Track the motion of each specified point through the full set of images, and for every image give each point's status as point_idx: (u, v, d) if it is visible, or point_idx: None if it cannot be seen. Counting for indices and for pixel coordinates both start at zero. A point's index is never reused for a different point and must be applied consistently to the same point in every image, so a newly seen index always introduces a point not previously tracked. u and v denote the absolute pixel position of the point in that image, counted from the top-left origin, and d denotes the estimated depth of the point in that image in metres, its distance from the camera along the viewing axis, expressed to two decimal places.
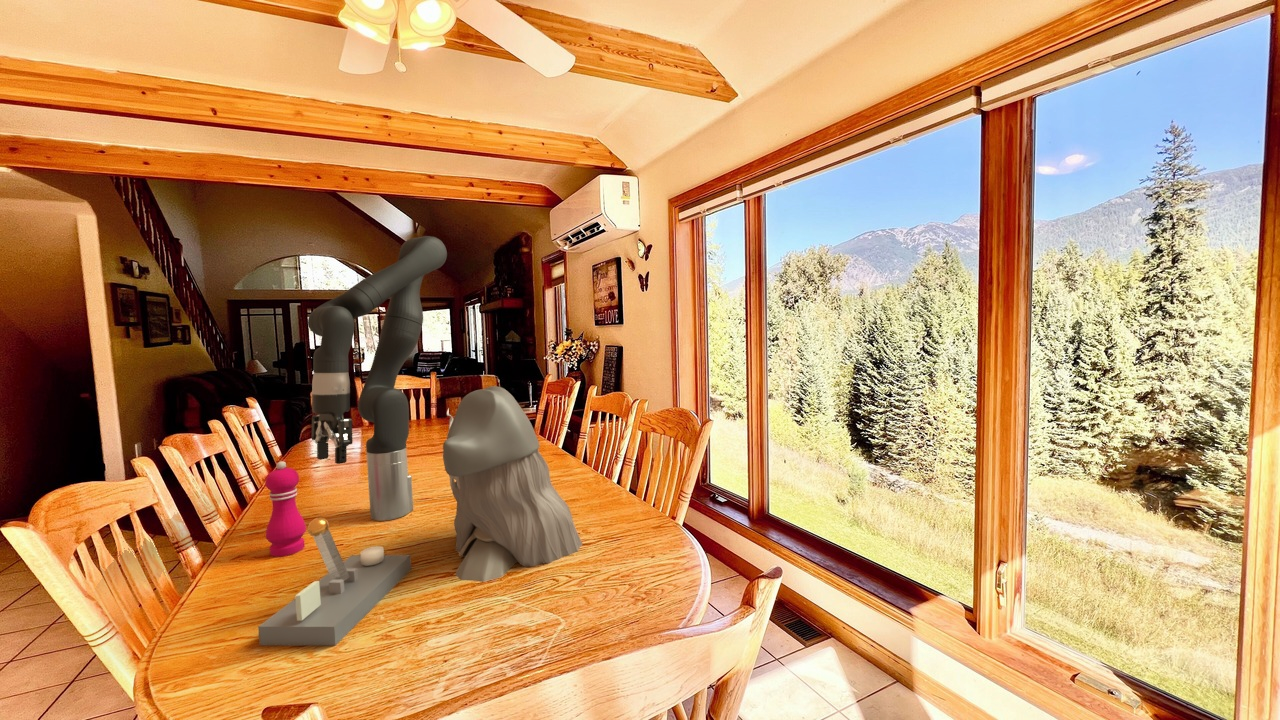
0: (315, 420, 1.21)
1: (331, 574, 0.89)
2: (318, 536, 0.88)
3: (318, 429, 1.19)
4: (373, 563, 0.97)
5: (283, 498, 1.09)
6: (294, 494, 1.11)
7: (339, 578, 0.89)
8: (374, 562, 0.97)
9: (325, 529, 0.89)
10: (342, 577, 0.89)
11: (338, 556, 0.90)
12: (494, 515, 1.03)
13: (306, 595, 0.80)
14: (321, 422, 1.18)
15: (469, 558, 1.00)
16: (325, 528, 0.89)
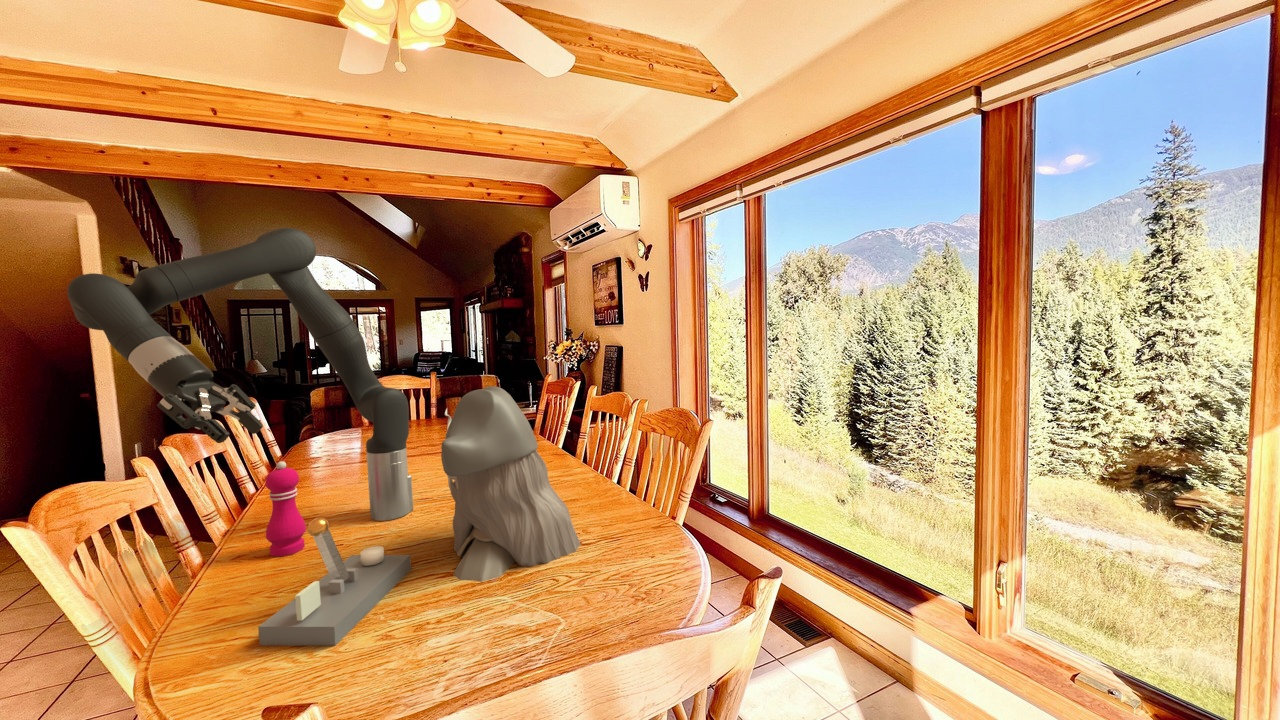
0: None
1: (331, 574, 0.89)
2: (318, 536, 0.88)
3: None
4: (373, 563, 0.97)
5: (283, 498, 1.09)
6: (294, 494, 1.11)
7: (339, 578, 0.89)
8: (374, 562, 0.97)
9: (325, 529, 0.89)
10: (342, 577, 0.89)
11: (338, 556, 0.90)
12: (492, 515, 1.03)
13: (306, 595, 0.80)
14: None
15: (467, 558, 1.00)
16: (325, 528, 0.89)
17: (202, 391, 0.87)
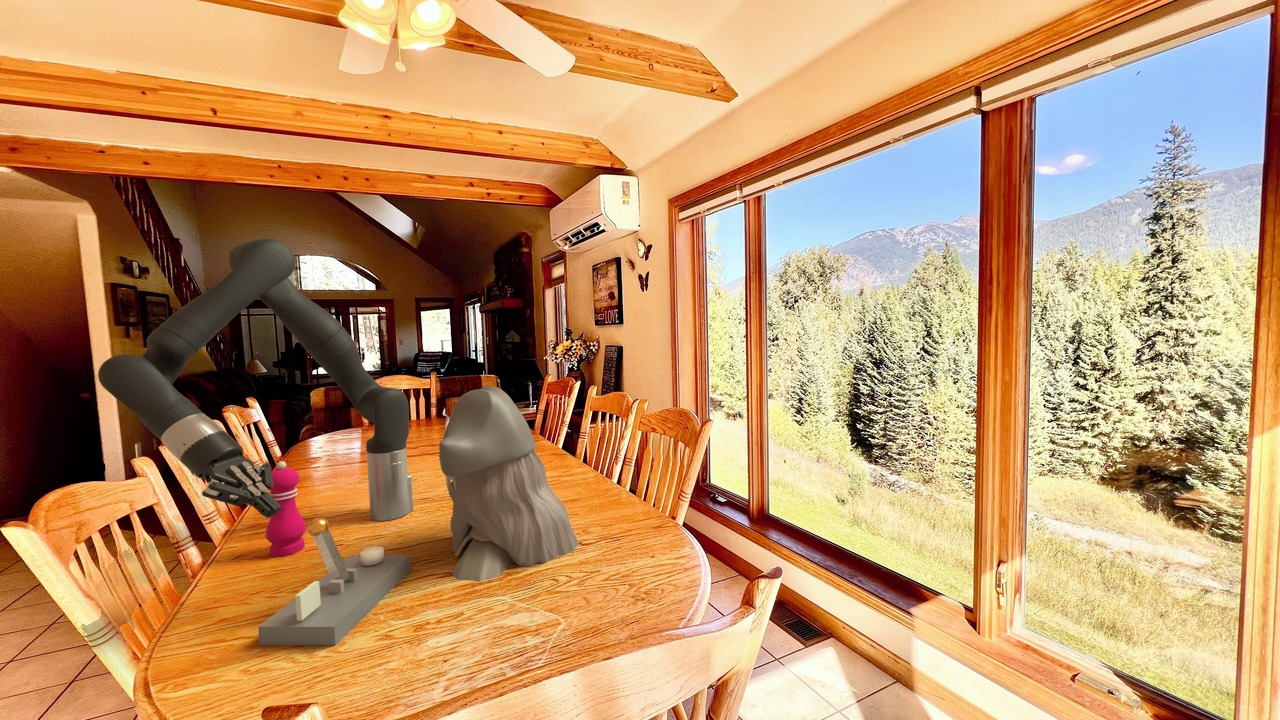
0: None
1: (331, 574, 0.89)
2: (318, 536, 0.88)
3: None
4: (373, 563, 0.97)
5: (283, 498, 1.09)
6: (294, 494, 1.11)
7: (339, 578, 0.89)
8: (374, 562, 0.97)
9: (325, 529, 0.89)
10: (342, 577, 0.89)
11: (338, 556, 0.90)
12: (490, 515, 1.03)
13: (306, 595, 0.80)
14: None
15: (465, 558, 1.01)
16: (325, 528, 0.89)
17: (234, 469, 0.88)
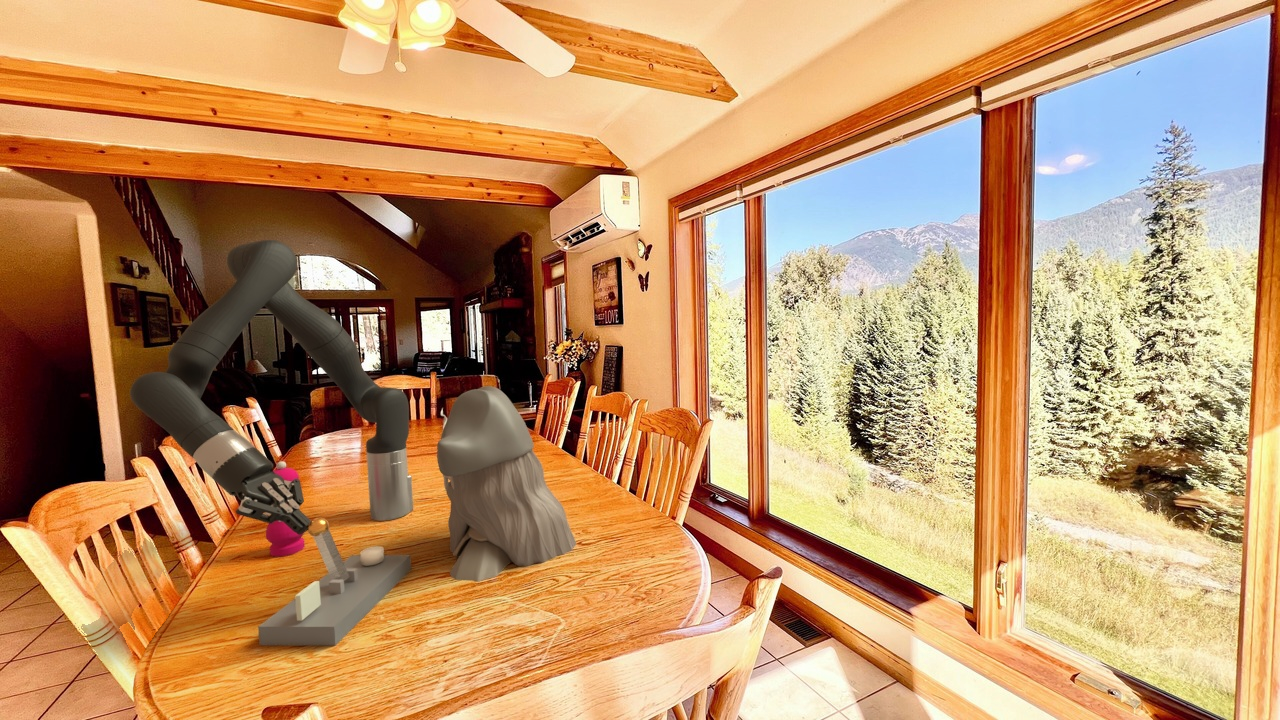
0: None
1: (331, 574, 0.89)
2: (318, 536, 0.88)
3: None
4: (373, 563, 0.97)
5: None
6: None
7: (339, 578, 0.89)
8: (374, 562, 0.97)
9: (325, 529, 0.89)
10: (342, 577, 0.89)
11: (338, 556, 0.90)
12: (488, 515, 1.03)
13: (306, 595, 0.80)
14: None
15: (463, 558, 1.01)
16: (325, 528, 0.89)
17: (266, 486, 0.88)
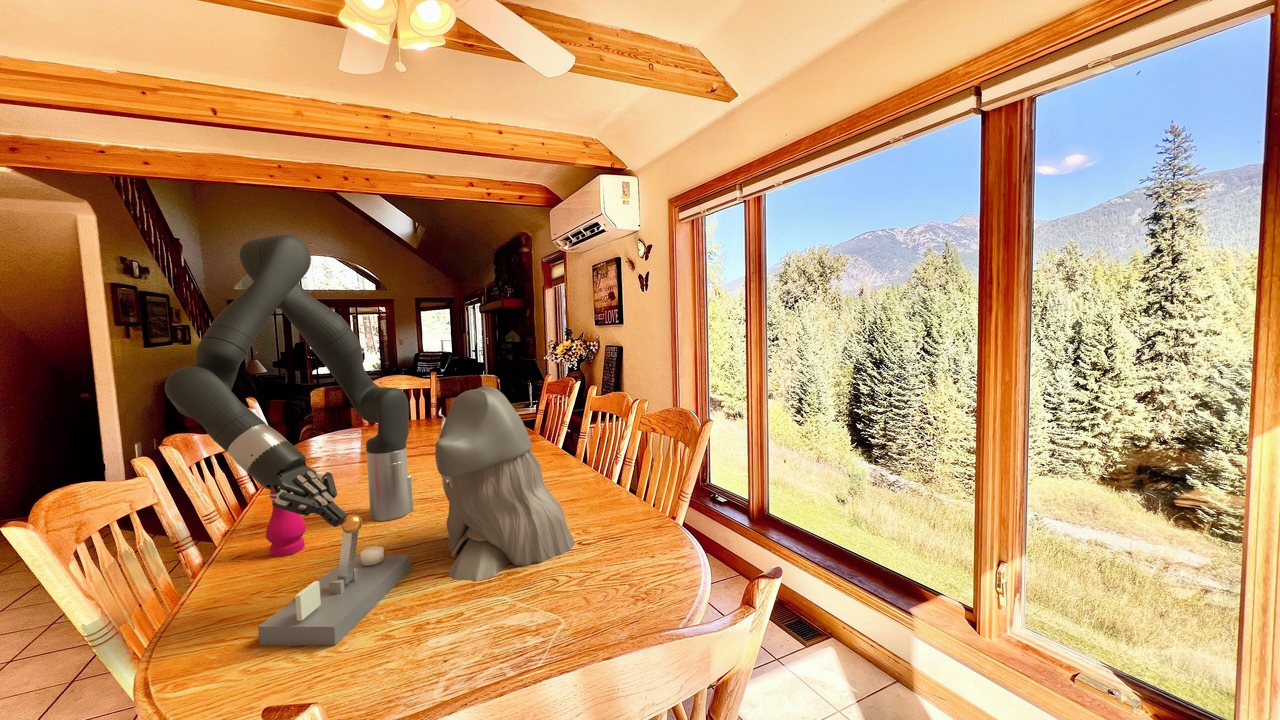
0: None
1: (340, 572, 0.89)
2: (348, 534, 0.88)
3: None
4: (373, 563, 0.97)
5: None
6: None
7: (345, 579, 0.89)
8: (374, 562, 0.97)
9: (357, 530, 0.89)
10: (347, 579, 0.89)
11: (353, 557, 0.90)
12: (486, 515, 1.03)
13: (306, 595, 0.80)
14: None
15: (461, 558, 1.01)
16: (357, 529, 0.89)
17: (301, 479, 0.87)
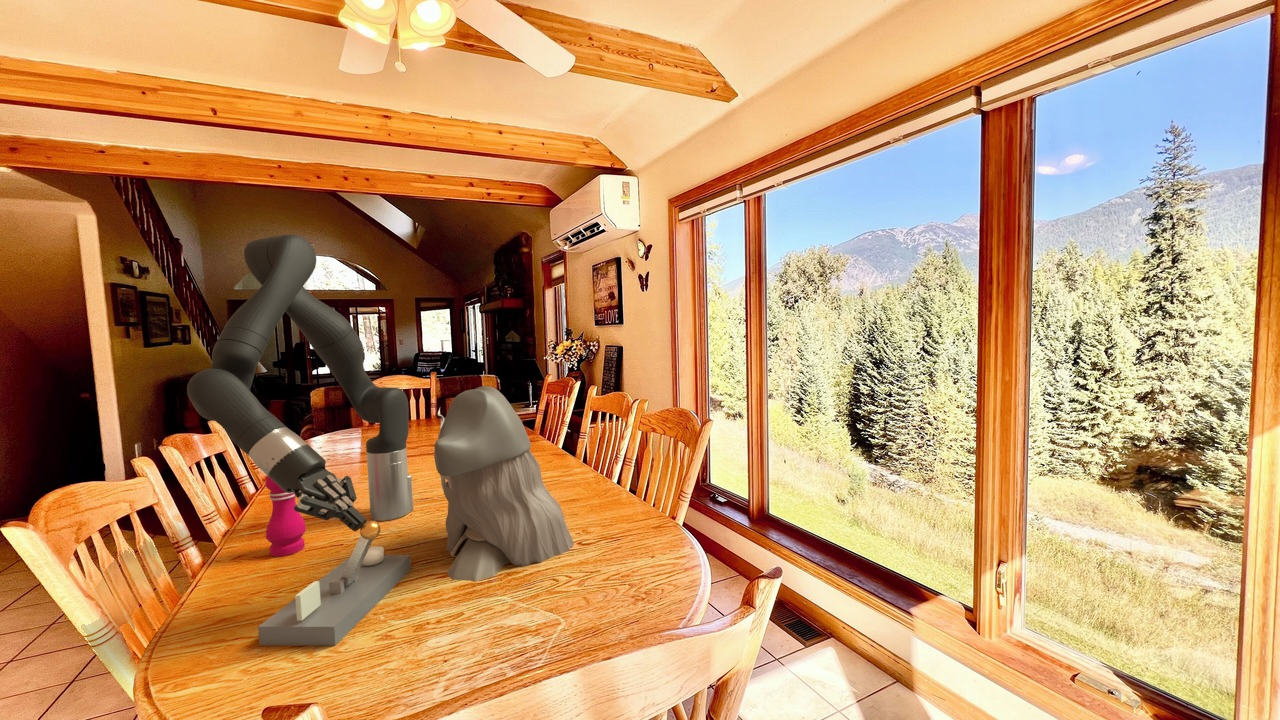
0: None
1: (345, 573, 0.89)
2: (364, 539, 0.88)
3: None
4: (373, 563, 0.97)
5: (283, 498, 1.09)
6: (294, 494, 1.11)
7: (347, 581, 0.89)
8: (374, 562, 0.97)
9: (373, 538, 0.89)
10: (350, 581, 0.89)
11: (361, 561, 0.90)
12: (485, 515, 1.03)
13: (306, 595, 0.80)
14: None
15: (460, 558, 1.01)
16: (374, 537, 0.89)
17: (321, 483, 0.87)
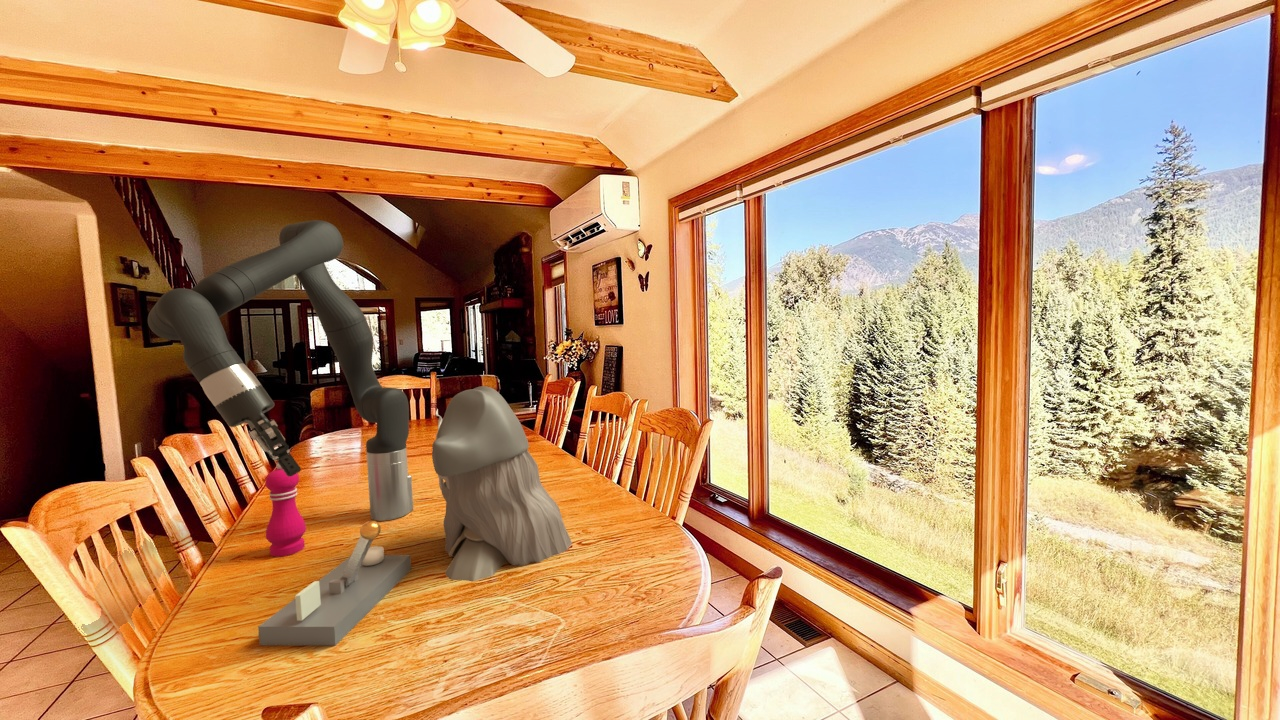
0: None
1: (345, 573, 0.89)
2: (364, 539, 0.88)
3: (258, 443, 0.93)
4: (373, 563, 0.97)
5: (283, 498, 1.09)
6: (294, 494, 1.11)
7: (347, 581, 0.89)
8: (374, 562, 0.97)
9: None
10: (350, 581, 0.89)
11: (361, 561, 0.90)
12: (483, 515, 1.03)
13: (306, 595, 0.80)
14: (249, 432, 0.92)
15: (458, 558, 1.01)
16: (374, 537, 0.89)
17: (275, 423, 0.93)
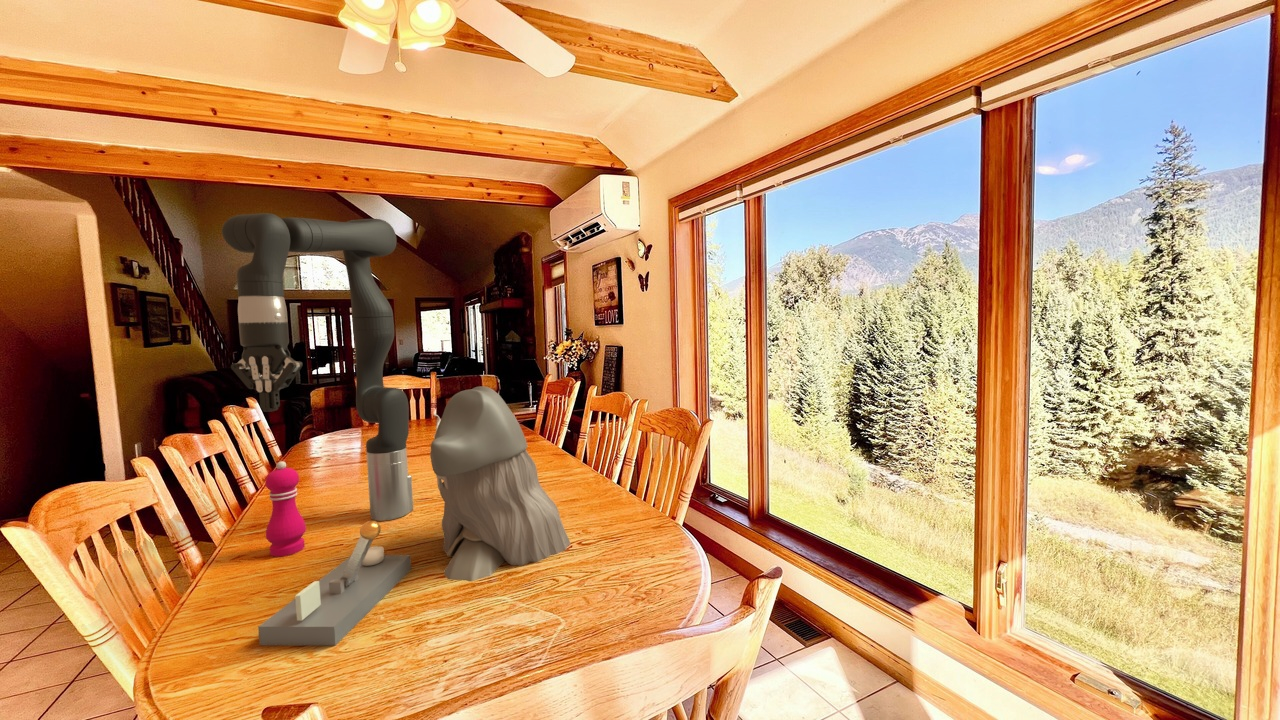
0: (239, 366, 0.97)
1: (345, 573, 0.89)
2: (364, 539, 0.88)
3: (254, 370, 0.96)
4: (373, 563, 0.97)
5: (283, 498, 1.09)
6: (294, 494, 1.11)
7: (347, 581, 0.89)
8: (374, 562, 0.97)
9: None
10: (350, 581, 0.89)
11: (361, 561, 0.90)
12: (482, 515, 1.03)
13: (306, 595, 0.80)
14: (253, 357, 0.95)
15: (457, 558, 1.01)
16: (374, 537, 0.89)
17: None
